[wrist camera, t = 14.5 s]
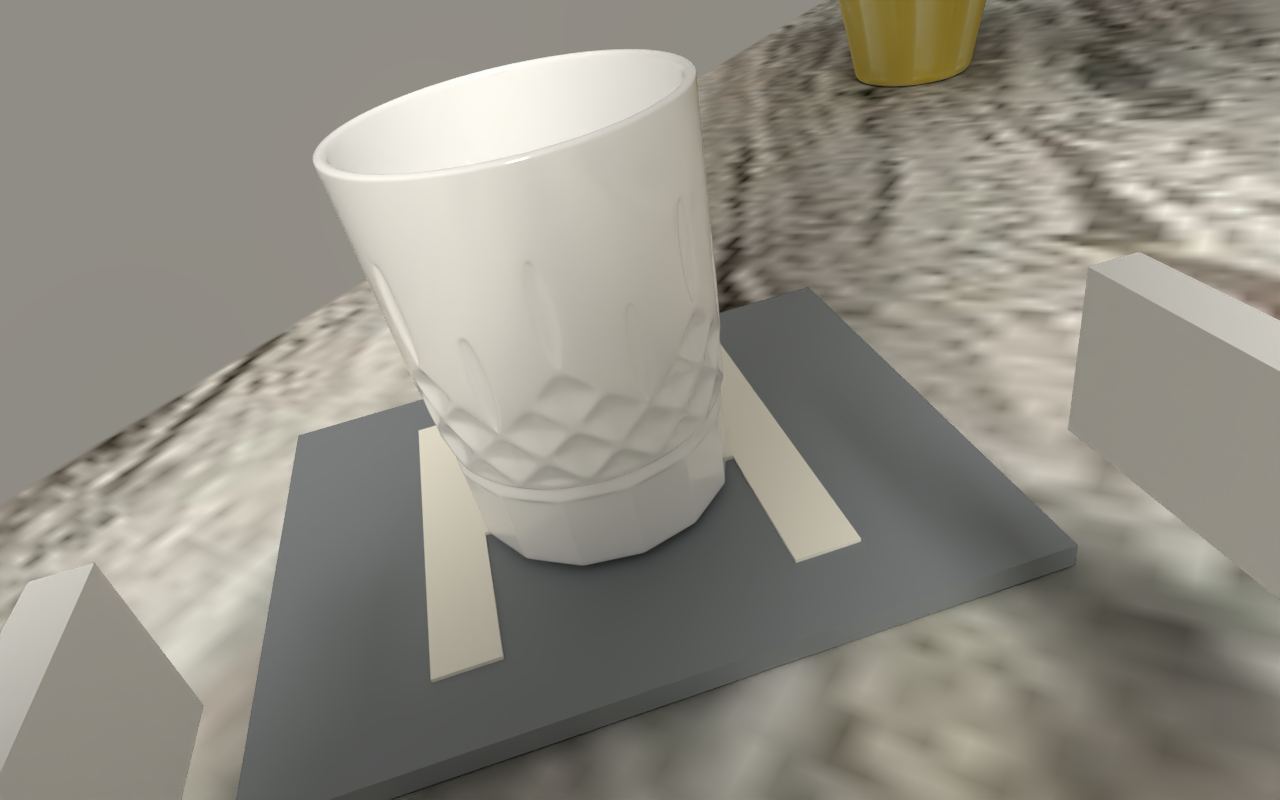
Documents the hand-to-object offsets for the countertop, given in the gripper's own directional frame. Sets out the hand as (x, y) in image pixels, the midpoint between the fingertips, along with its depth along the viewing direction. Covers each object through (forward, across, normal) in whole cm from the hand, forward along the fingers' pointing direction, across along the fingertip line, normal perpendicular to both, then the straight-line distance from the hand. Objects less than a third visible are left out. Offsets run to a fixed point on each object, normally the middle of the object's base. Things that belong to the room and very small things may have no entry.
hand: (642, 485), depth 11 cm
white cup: (+9, 0, -7) cm, 12 cm away
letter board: (+9, 0, -8) cm, 12 cm away
